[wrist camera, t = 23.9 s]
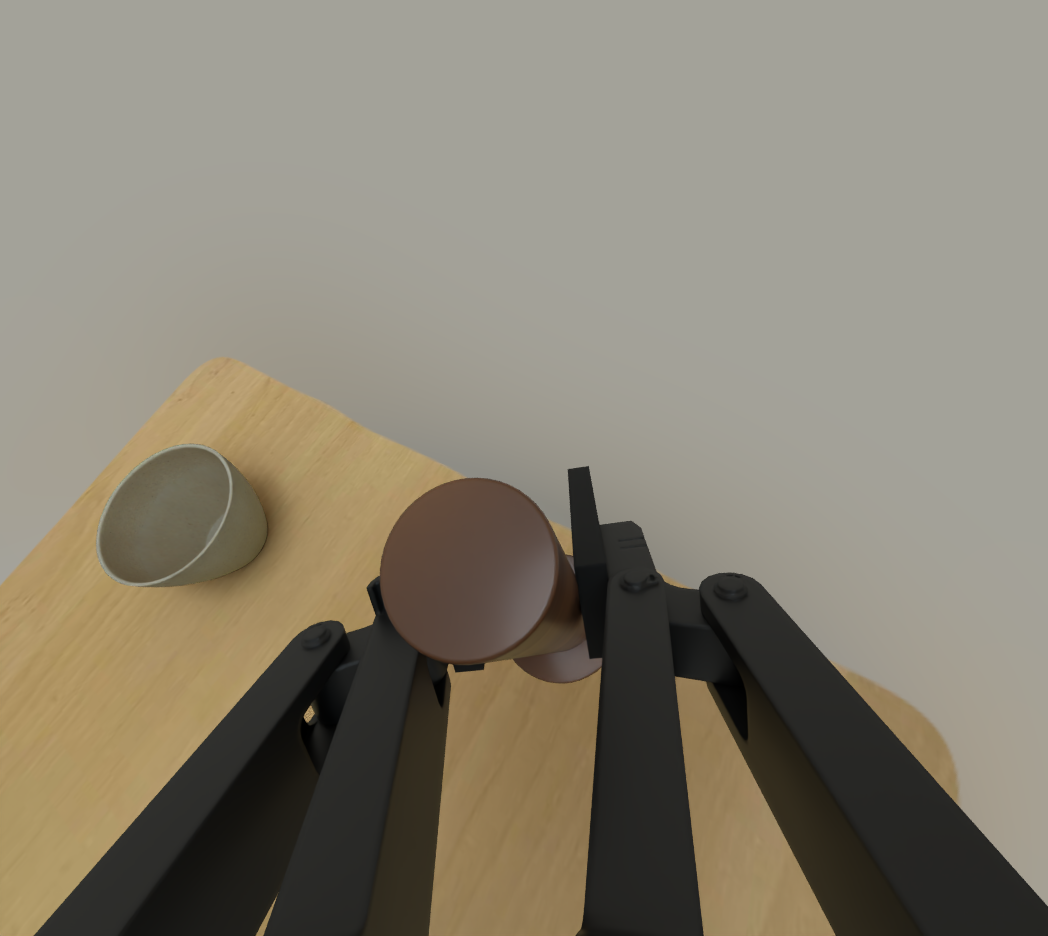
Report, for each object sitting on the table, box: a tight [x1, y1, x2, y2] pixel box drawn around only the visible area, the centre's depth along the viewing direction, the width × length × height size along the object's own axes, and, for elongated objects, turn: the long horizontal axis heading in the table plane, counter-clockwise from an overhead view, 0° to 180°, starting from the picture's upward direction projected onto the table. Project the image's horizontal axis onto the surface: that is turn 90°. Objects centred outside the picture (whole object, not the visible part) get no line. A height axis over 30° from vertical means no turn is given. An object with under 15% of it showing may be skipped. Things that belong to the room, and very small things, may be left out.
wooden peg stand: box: [380, 478, 602, 683], centre depth 14 cm, size 5×5×15 cm
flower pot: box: [96, 444, 267, 587], centre depth 35 cm, size 10×10×7 cm
